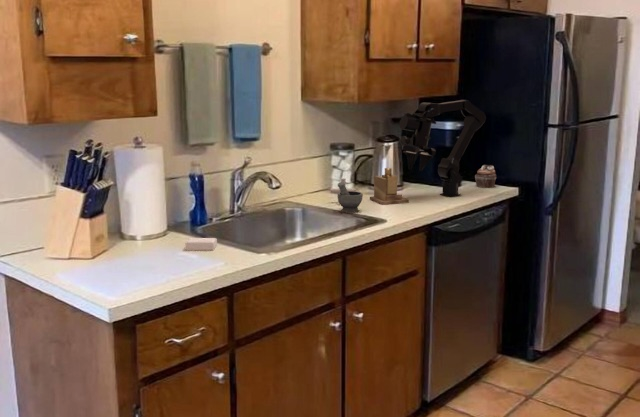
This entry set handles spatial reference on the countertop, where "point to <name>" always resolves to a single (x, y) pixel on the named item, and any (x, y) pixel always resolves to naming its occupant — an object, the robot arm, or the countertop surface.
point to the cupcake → (485, 177)
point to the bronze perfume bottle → (390, 182)
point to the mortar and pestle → (349, 199)
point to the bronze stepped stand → (385, 193)
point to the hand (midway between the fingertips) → (415, 170)
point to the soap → (201, 244)
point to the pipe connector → (339, 189)
